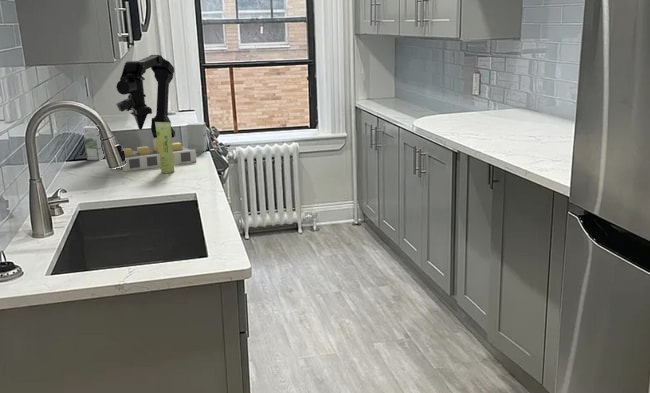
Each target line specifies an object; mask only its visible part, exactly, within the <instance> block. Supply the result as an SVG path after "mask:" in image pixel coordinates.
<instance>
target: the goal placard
mask: <svg viewBox="0 0 650 393" xmlns="http://www.w3.org/2000/svg"><path fill="white" fill-rule="evenodd" d="M126 161H127V164H126V165H125V166H123V169H122V172H128V171H136V170H144V169H151V168H159V167H160V168H161V164H160V155H159V154H154V155H146V156H137V157H129V158H126ZM173 161H174V164H175V165H182V164H189V163H188V162H190V163H196V162H195V161H197V152H196V150H187V151H178V152H173ZM181 163H182V164H181Z"/></svg>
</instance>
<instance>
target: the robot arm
mask: <svg viewBox="0 0 650 393" xmlns="http://www.w3.org/2000/svg"><path fill="white" fill-rule="evenodd" d="M148 69H150V70H151V71H153V73H154V76H153V77H154V78H155V80H156V82H157V93H156V96H157V97H156V111H155V112H156V115H155V116H154V117H152V118H151V123H150V131H151V134H152V137H153V139H157V132H156V126H155V122H171V120H170V118H169V116H168V112H169V95H170V94H169V92H170V91H169V90H170V89H169V88H170V84H171V82H172V80H173V79H174V74H175V68H174V65H172V64H171V62H170V61H169V60H167V59H165V58H163V56H162V55H160V54H150V55H149V56H147V57H144V58H142V59H139V60H130V61H126V62H125V63H124V65H123V69H122V73H121V75H120V78H119V79H120V80H119V81H118V82H117V83H116V86H115V87H116V91H117V92H118V93H119V94H120V95H123V96H124V95H127V97H128V98H126V99H123V100H121V101H119V102H117V103H116V104H115V105H116V107H117V108H118V111H119V112H124V111H125V112H129V111H131V112H129V114H130V115H132V116H133V117H134V119H135V122H136V124H137V128H138V129H139V130H143V127H144V124H145V122H146V119H147V116H148V115H152V114H153V110H152V108H151V107H150V106H147V105H148V104H146V99H145V98H146V94H145V90H144V88H145V87H144V81H145V80H146V79H145V77H144V76H143V75H144V74H145V73H146V72H147V70H148ZM171 123H172V122H171ZM171 136H172V139H173V138H175V137H176V131H175V129H174V128H173V126H171Z"/></svg>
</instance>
